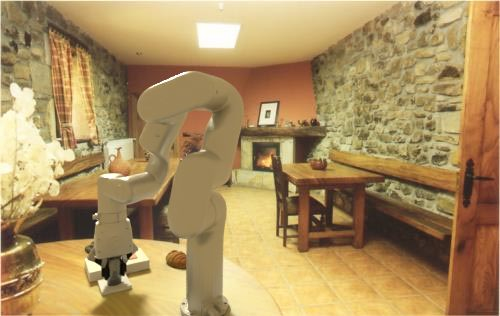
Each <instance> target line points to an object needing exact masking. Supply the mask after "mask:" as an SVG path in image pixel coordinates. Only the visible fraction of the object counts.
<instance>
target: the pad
mask: <svg viewBox="0 0 500 316" xmlns="http://www.w3.org/2000/svg"><path fill="white" fill-rule="evenodd" d="M97 286H98V289H99V292H100V295H101V296H102V297H103V296H107V295H110V294H115V293H118V292H122V291H126V290H131V289H132V288H133V287H132V283H131V282H130V279H129V277H128V276H127V274H125V276H122V282H121V284H119V285H116V286H108V285H107V280H106V281H105V279H102V280H98V281H97Z"/></svg>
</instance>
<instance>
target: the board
mask: <svg viewBox="0 0 500 316" xmlns="http://www.w3.org/2000/svg"><path fill="white" fill-rule="evenodd" d="M137 248H138V251H137V252H135V253H134V254H133V255H132V256H131V257H130V258H129V260H128V262H127V263H126V268H127V272H125V274H126V275H128V274H132V273H133V274H134V273H137V272H140V271H141V272H142V271H145V270H149V269H150V259H149V257H148V256H147V255H146V253H145V252H144V251H143V250H142V248H141V247H137ZM94 256H95V255H94ZM95 257H96V256H95ZM121 259H122V258H121ZM84 269H85V271H86V276H87V279H88V282H89V283H92V282H98V280H102V279H104V277H102V275H101V266H99V265H98V264H96V263H95V262H92V261H89V260H88V259H87V257H85V258H84Z"/></svg>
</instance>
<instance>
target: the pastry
mask: <svg viewBox="0 0 500 316" xmlns="http://www.w3.org/2000/svg"><path fill="white" fill-rule="evenodd" d="M165 261H166V264H167V265H169V266H170V267H174V268H177V269H184V268H185V269H186V252H183V251H181V250H177V249H172V250H170V251H169V252H168V253H167V255H166V256H165Z"/></svg>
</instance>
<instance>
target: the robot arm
mask: <svg viewBox="0 0 500 316" xmlns="http://www.w3.org/2000/svg"><path fill="white" fill-rule="evenodd" d="M136 110H137V113H138V116H139V118H140V119H141V120H143V121H144V122H145V125H144V127H143V129H142V132H141V134H140V135H139V138H138V144H139V146H140V147H141V148H142V149H143V150H145V151H146V152H147V153H149V158H148V161H147V163H146V166H145V168H144V170H143V172H141V173H136V174H131V175H128V176H127V175H126V176H125V175H124V174H123V173H119V172H118V173H116V172H114V173H111V172H110V173H104V174H100V175H99V176H98V177H97V180H96V181H97V182H96V186H97V187H96V189H97V190H96V191H97V212H96V213H95V214H92V221H93V220H97V221H96V222H95V227H94V232H93V241H94V247H93V248H92V250H91V251H90V253H88V255H87V257H86V258H87V259H88V260H89V261H92V262H95V263H96V264H98V265H99V266H101V275H102V277H104V279H105V281H106V280H108V267H107V265H106V261H107V258H110V257H116V256H121V258H122V259H121V275H122V276H125V272H127V268H126V263H127V262H128V260H129V258H130V257H131V256H132V255H133V254H134V253H135V252H137V251H138V248H139V247H138V246H137V245H136V244H135V243H134V240H133V231H132V230H133V229H132V226H131V221H130V219H129V218H128V217H127V206H128V205H132V204H135V203H138V202H141V201H143V200H146V199H149V198H152V197H154V196H155V195H157V194H158V193H159V191H160V190H161V188H162V187H163V184H164V182H165V181H166V179H167V177H168V175H169V172H170V165H171V164H170V163H171V161H170V160H171V159H170V152H171V149H172V147H173V145H174V144H175V142H176V140H177V137H178V136H179V133H180V132H181V130H182V127H183V125H184V123H185V121H186V120H187V118H188V115H189V112H193V111H203V112H204V111H205V112H210V114H211V116H210V118H209V120H208V122H207V124H206V127H205V130H204V132H203V133H204V134H203V138H202V143H201V146H200V148H199V151H195V152H191V153H188V154H187V155H185V156H184V157H183V158H182V159H181V160H180V161H179V163H178V164H177V167H176V168H175V172H174V176H173V181H172V186H171V191H170V197H169V201H168V207H167V212H166V213H167V214H166V218H167V220H166V221H167V225H168V227H169V230H170V231H171V233H172V234H173V235H174V236H175V237H177V238H179V239H181V240H182V239H183V240H186V246H185V247H186V251H185V254H186V267H185V274H186V275H185V278H186V279H185V280H186V281H185V285H186V286H185V287H186V288H185V291H186V292H185V297H184V298H183V299H182V301H181V302H180V307H179V310H180V313H181V315H182V316H224V315H226V313H227V311H228V310H229V300H228V298H227V297H226V296H225V295H224V293H223V292H224V289H223V288H224V287H223V285H224V282H223V281H224V280H223V279H224V238H225V237H224V236H225V226H226V222H227V213H228V209H227V203H226V199H225V198H224V197H223V195H222V194H221V193H220V192H219V191H217V190H216V189H218V188H219V187H222V186H224V185H225V184H226V183H227V182H228V181H229V180H230V177H231V174H232V170H233V166H234V162H235V157H236V152H237V148H238V143H239V138H240V134H241V131H242V126H243V122H244V117H245V105H244V100H243V97H242V95H241V94H240V92H239V90H238V89H237V88H236V87H235V86H234V85H233V84H232V83H229V82H228V81H227V80H225V79H223V78H221V77H218V76H216V75H212V74H208V73H204V72H202V71H196V70H192V71H191V70H190V71H185V72H182V73H180V74H178V75H175V76H172V77H170V78H168V79H166V80H163V81H161V82H159V83H157V84H154V85H151V86H150V87H148V88H147V89H145V90H144V91H142V93H141V94H140V96H139V98H138V100H137V104H136ZM95 256H96V257H95Z"/></svg>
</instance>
